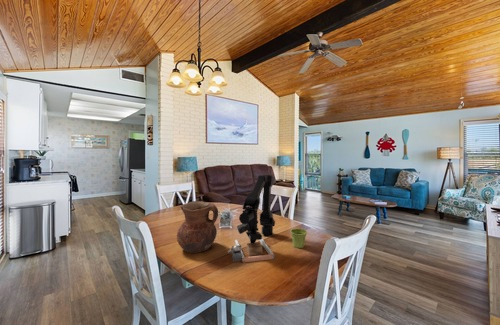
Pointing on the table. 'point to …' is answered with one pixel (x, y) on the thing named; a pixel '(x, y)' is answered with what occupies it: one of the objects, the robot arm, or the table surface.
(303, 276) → the table surface
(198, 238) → the jug
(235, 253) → the winch
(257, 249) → the crate
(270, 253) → the bay
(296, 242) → the plant pot
